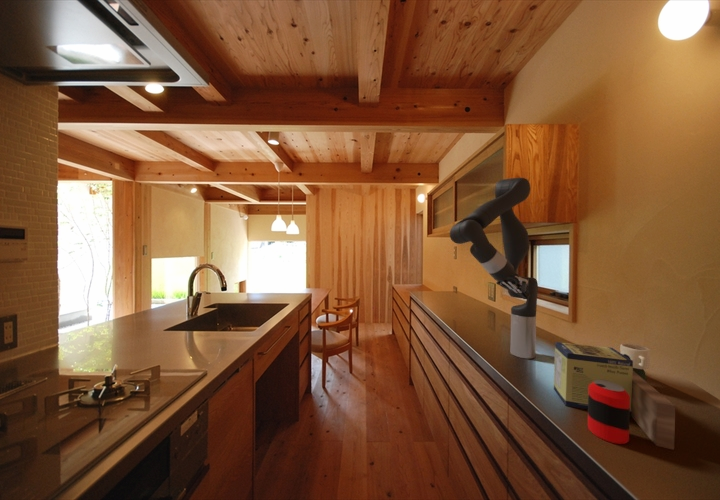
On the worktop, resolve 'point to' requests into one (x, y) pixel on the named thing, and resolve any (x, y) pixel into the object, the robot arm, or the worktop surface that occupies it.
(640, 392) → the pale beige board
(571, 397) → the protein box
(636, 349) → the character mug
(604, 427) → the soda can
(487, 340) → the worktop surface
